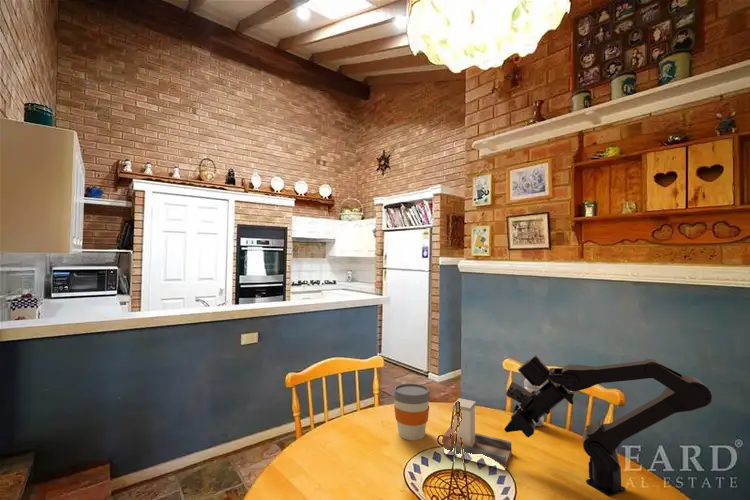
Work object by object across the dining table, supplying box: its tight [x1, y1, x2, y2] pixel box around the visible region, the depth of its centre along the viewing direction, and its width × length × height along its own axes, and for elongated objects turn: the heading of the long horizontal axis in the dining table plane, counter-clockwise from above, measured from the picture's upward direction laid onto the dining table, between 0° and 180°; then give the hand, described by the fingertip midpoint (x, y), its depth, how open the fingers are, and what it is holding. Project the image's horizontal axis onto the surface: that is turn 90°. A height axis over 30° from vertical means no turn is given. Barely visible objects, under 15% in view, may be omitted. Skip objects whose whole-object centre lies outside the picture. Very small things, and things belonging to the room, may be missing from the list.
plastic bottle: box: [523, 377, 545, 427], centre depth 130 cm, size 6×7×20 cm
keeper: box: [452, 397, 477, 447], centre depth 112 cm, size 5×6×13 cm
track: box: [442, 422, 513, 468], centre depth 110 cm, size 18×11×6 cm, turn 60°
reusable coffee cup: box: [393, 383, 431, 441], centre depth 123 cm, size 13×13×15 cm
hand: (505, 430), depth 106 cm, fingers closed
